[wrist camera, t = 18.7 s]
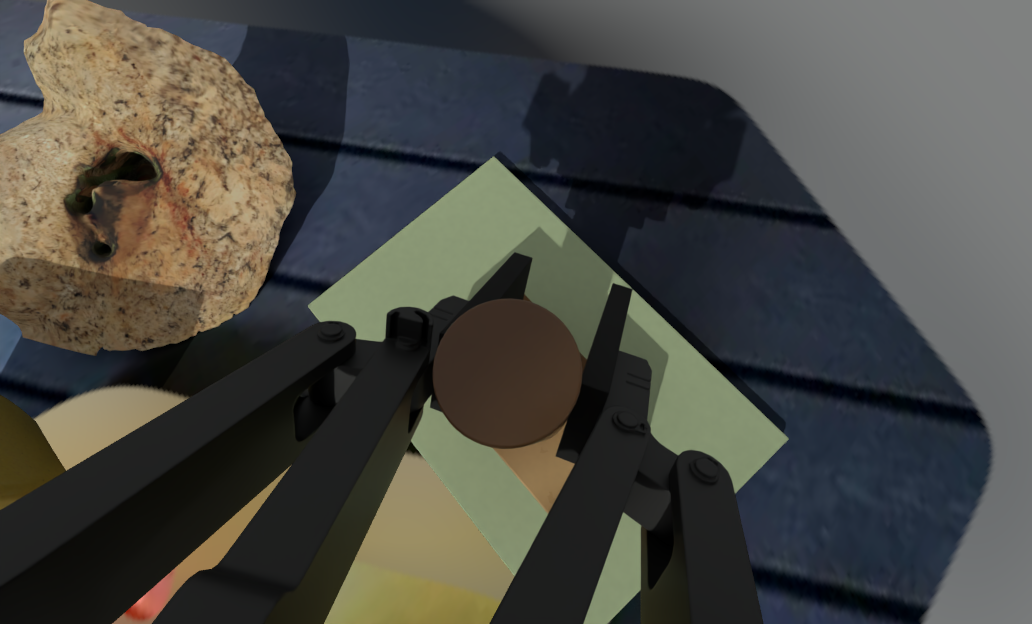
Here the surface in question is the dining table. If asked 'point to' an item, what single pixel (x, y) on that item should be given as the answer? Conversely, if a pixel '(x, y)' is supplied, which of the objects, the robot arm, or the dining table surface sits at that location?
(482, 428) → the stamp
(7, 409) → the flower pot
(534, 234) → the mat
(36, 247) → the pitted speckled stone
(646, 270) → the dining table surface
